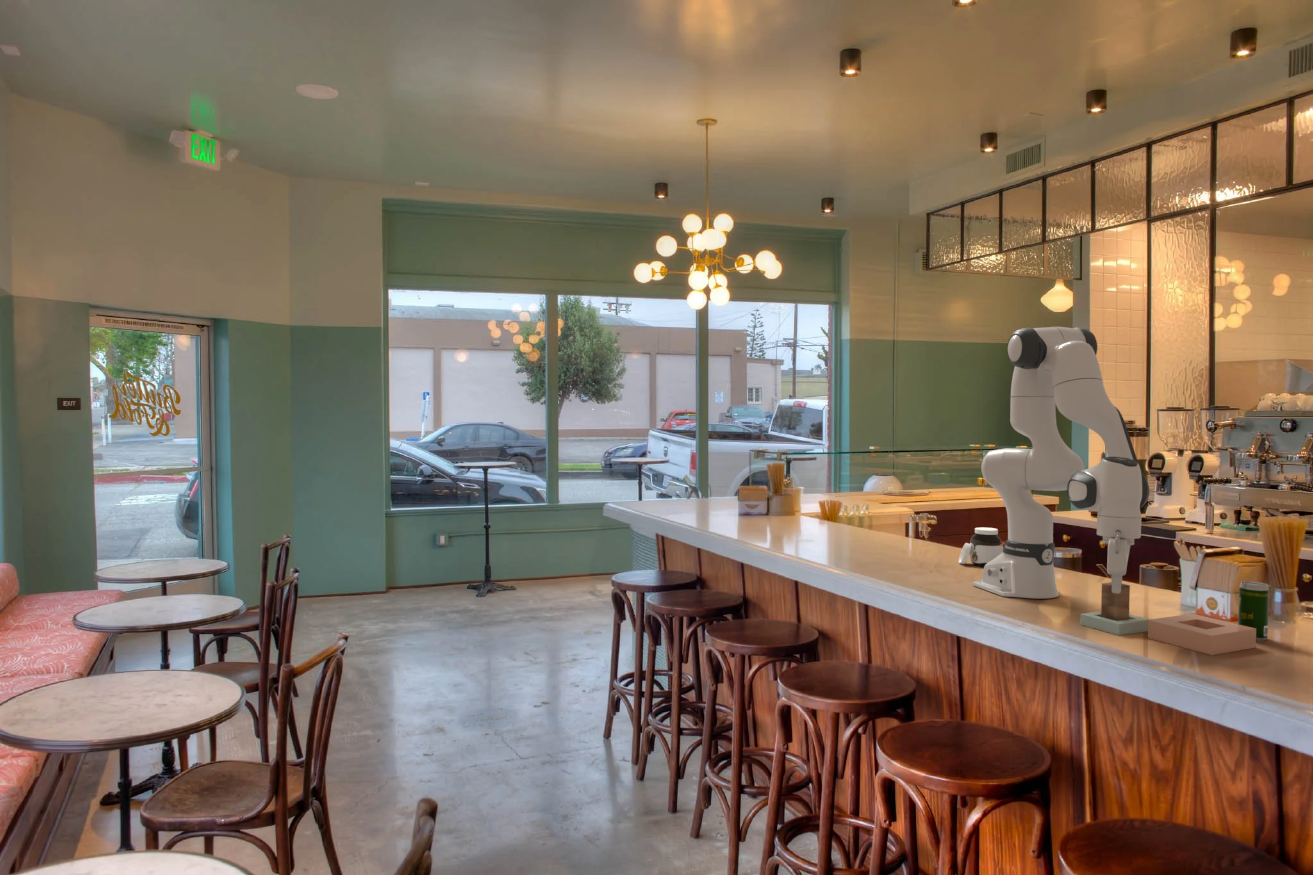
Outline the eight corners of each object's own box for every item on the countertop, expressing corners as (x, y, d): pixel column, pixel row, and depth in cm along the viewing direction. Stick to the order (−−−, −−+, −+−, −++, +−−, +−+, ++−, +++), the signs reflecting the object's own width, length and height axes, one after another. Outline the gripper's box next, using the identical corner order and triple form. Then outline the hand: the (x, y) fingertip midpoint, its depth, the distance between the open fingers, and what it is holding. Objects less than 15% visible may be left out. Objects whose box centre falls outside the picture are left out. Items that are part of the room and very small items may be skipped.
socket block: (1148, 637, 188) (1148, 619, 187) (1191, 631, 193) (1191, 613, 193) (1211, 655, 175) (1211, 635, 175) (1255, 647, 180) (1256, 628, 180)
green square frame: (1080, 624, 199) (1080, 613, 199) (1111, 620, 203) (1111, 609, 203) (1118, 635, 190) (1119, 624, 190) (1150, 630, 194) (1150, 619, 194)
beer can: (1269, 637, 188) (1271, 583, 187) (1265, 642, 184) (1267, 587, 183) (1240, 633, 192) (1241, 579, 191) (1235, 638, 188) (1237, 583, 187)
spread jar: (1006, 567, 268) (1007, 530, 268) (974, 569, 265) (975, 532, 265) (983, 561, 280) (983, 525, 279) (952, 562, 277) (952, 526, 276)
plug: (1100, 626, 197) (1101, 583, 197) (1113, 624, 199) (1114, 581, 199) (1116, 630, 194) (1117, 586, 193) (1128, 628, 195) (1129, 585, 195)
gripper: (1134, 534, 185) (1132, 598, 185) (1135, 525, 202) (1133, 584, 203) (1101, 532, 188) (1099, 595, 188) (1104, 523, 205) (1103, 581, 206)
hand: (1116, 589), depth 195 cm, fingers open, 8 cm apart
